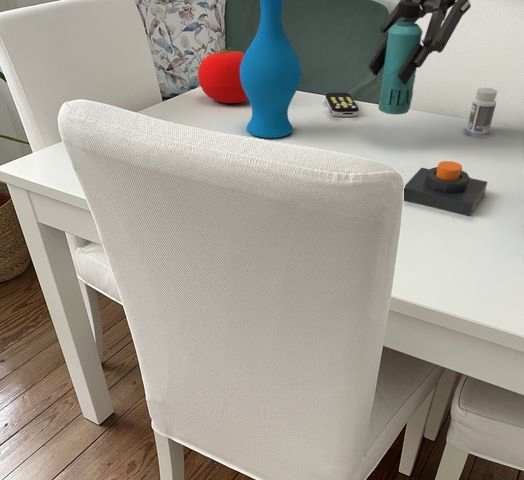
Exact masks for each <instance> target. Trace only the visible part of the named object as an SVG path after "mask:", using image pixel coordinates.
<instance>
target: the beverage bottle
mask: <svg viewBox="0 0 524 480" xmlns="http://www.w3.org/2000/svg"><path fill="white" fill-rule="evenodd" d="M398 3H399V2H398ZM420 7H421V5H420V4H419V3H416V2H401V3H399V5H398V9H397V13H396V16H398V17H402V18H417V17H419V15H420ZM422 36H423V29H422V27H420V25H419V24H418V23H417V22H415V23H412V22H398V23H395V24H394V25H393V26H392V27H391V28H390V29H389V30H388V40H387V48H386V56H385V63H384V65H383V72H382V77H381V85H380V90H379V99H378V110H379V111H380V112H382V113H384V114H388V115H404V114H407V113H409V110H410V108H411V106H412V101H413V96H414V95H413V94H414V85H415V82H416V73H417V71H418V70H417V69H416V70H415V71H414V73H413V74H412V76H411V77H410V79H409V80H408V82H407V83H406V85H405V84H402V82H401V80H400V78H399V77H398V73H399V72H400V70H401V69H402V67H403V66H404V64H405V62H406V61H407V59H408V58H409V56H410V55H411V53H412V52H413V50H414V49H415V47H416V46H417V44H418V43H419V44H421V42H422Z"/></svg>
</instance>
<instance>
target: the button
mask: <svg viewBox="0 0 524 480" xmlns="http://www.w3.org/2000/svg"><path fill="white" fill-rule="evenodd" d="M436 167H437V172H436V177H438V178H440V179H444V180H453V181H455V180H459V179H460V175H461V171H463V165H462V164H461V163H459V162H456V161H453V160H443V161H440V162H438V164H437V166H436Z"/></svg>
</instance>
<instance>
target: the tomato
mask: <svg viewBox="0 0 524 480" xmlns="http://www.w3.org/2000/svg"><path fill="white" fill-rule="evenodd" d="M218 50H221V51H216V52H213V53H210V54H208V55H207V56H206V57H204V58H203V59H202V61H201V62H200V64H199V67H198V71H197V79H198V83H199V86H200V88H201V90H202V91H203V93H204V94H205V95H206V96H207V97H208V98H210V99H212V101H216V102H218V103H223V104H238V103H239V104H240V103H244V102H245V101H246V100H248V97H247V95H246V93H245V91H244V89H243V87H242V84H241V80H240V65H241V61H242V59H243V57H244V55H245V52H243V50H242V51H240V50H232V47H231V46H230V47H227V48H226V49H224V48H218Z"/></svg>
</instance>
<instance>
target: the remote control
mask: <svg viewBox="0 0 524 480" xmlns="http://www.w3.org/2000/svg"><path fill="white" fill-rule="evenodd" d="M324 100H325V103H326V105H327V106H328V109H329V111H330V113H331V115H332V116H333V117H338V118H344V117H345V118H346V117H347V118H349V117H357V116H358V115H359V107H358V105H357V103H356V102H355V100H354V99H353V97H352V95H351V94H350V93H348V92H328V93H326V94H325V98H324Z"/></svg>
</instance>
